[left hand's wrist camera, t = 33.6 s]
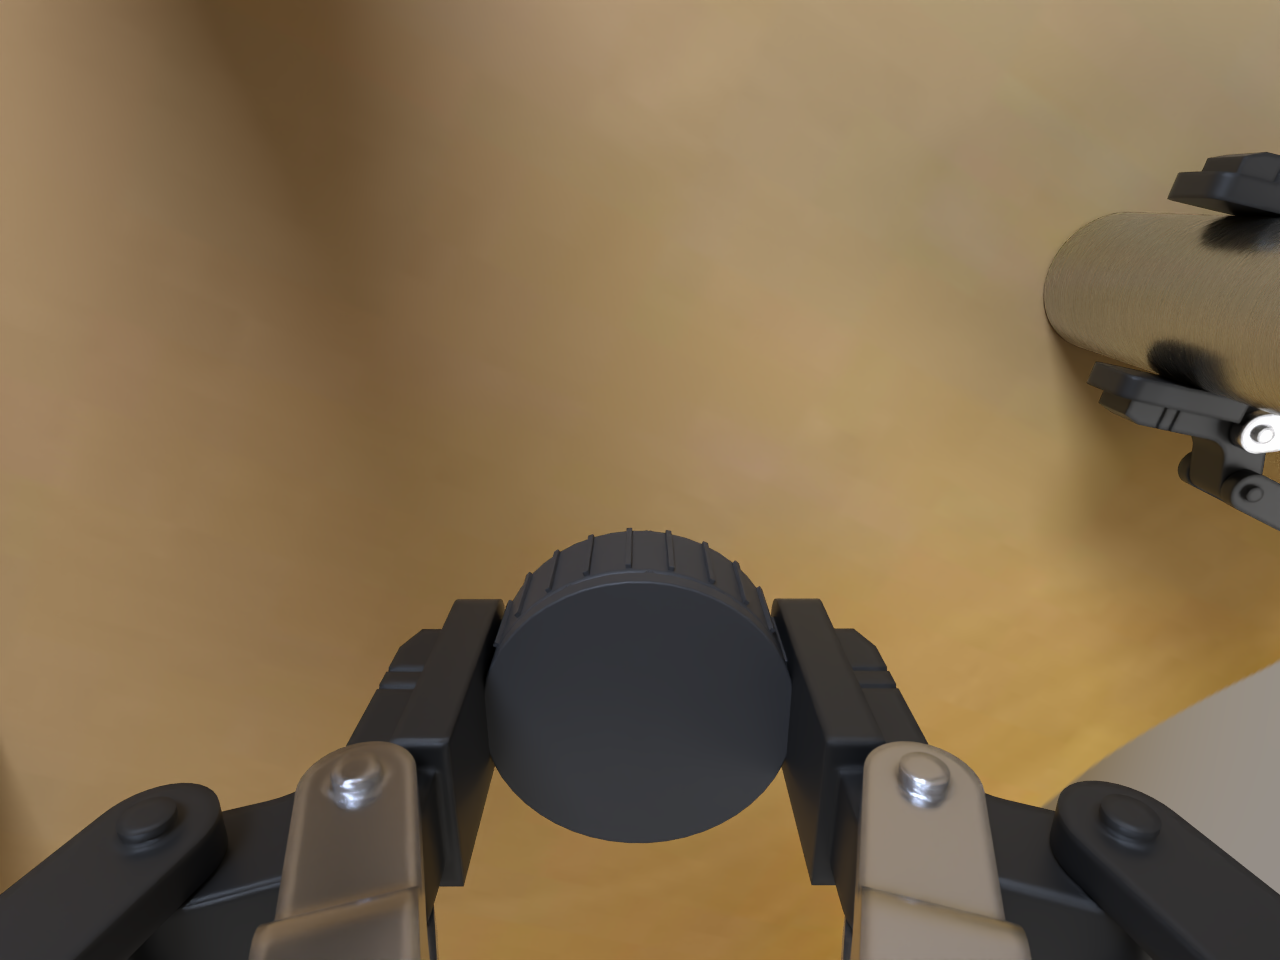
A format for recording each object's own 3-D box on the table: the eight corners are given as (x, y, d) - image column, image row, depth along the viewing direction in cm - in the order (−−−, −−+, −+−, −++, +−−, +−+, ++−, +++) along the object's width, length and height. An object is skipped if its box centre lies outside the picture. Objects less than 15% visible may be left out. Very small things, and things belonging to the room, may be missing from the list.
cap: (544, 487, 11) (528, 535, 10) (823, 576, 12) (852, 635, 10) (468, 725, 13) (442, 801, 11) (718, 794, 13) (729, 877, 12)
